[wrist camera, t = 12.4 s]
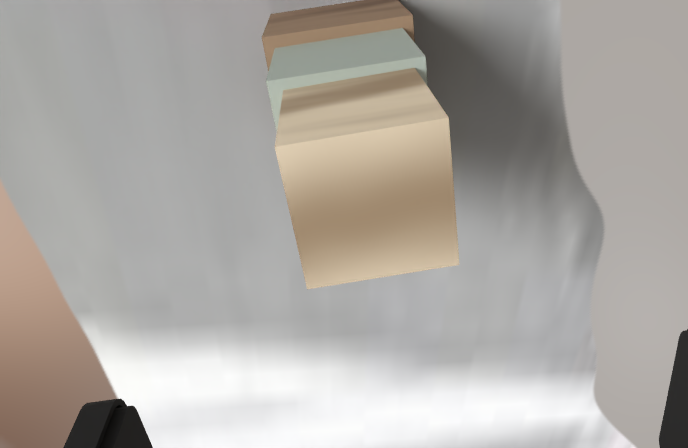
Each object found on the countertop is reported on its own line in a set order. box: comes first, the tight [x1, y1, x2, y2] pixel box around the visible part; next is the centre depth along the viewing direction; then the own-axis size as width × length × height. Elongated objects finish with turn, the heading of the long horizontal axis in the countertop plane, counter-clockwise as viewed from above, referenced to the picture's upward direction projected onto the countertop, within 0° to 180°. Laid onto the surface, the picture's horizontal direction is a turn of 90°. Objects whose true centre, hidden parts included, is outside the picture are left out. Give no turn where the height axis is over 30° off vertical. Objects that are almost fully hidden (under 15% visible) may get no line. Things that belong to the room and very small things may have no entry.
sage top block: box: [266, 28, 428, 131], centre depth 26 cm, size 6×6×6 cm
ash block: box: [275, 68, 459, 289], centre depth 20 cm, size 5×5×6 cm
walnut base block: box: [262, 0, 415, 71], centre depth 31 cm, size 7×7×7 cm
